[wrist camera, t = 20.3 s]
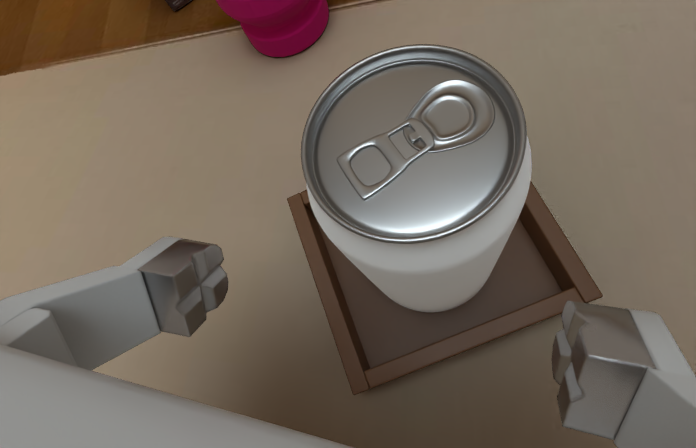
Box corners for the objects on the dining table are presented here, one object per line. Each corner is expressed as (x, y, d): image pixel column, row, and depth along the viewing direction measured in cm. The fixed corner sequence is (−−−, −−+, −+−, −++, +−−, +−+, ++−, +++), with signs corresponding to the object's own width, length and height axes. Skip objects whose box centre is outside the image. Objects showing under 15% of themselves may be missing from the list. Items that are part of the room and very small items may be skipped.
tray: (481, 132, 23) (485, 107, 21) (585, 303, 19) (604, 296, 17) (302, 213, 24) (286, 198, 22) (364, 391, 20) (353, 395, 18)
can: (520, 269, 20) (614, 156, 8) (410, 338, 20) (362, 316, 9) (444, 174, 22) (440, -9, 11) (347, 236, 22) (248, 118, 11)
